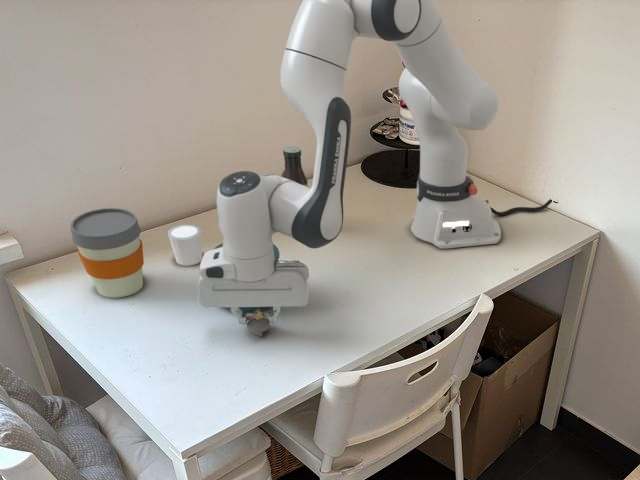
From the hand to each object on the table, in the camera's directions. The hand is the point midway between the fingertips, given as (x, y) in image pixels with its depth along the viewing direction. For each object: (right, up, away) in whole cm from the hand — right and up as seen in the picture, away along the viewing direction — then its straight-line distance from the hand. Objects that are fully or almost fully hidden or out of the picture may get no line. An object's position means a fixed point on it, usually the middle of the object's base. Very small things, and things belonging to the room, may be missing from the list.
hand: (258, 322), depth 138 cm
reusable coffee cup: (-32, +8, +11) cm, 35 cm away
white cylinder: (-21, +15, +21) cm, 33 cm away
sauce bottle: (0, +24, +36) cm, 43 cm away
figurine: (0, -2, +1) cm, 2 cm away
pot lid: (-4, +14, +5) cm, 15 cm away
